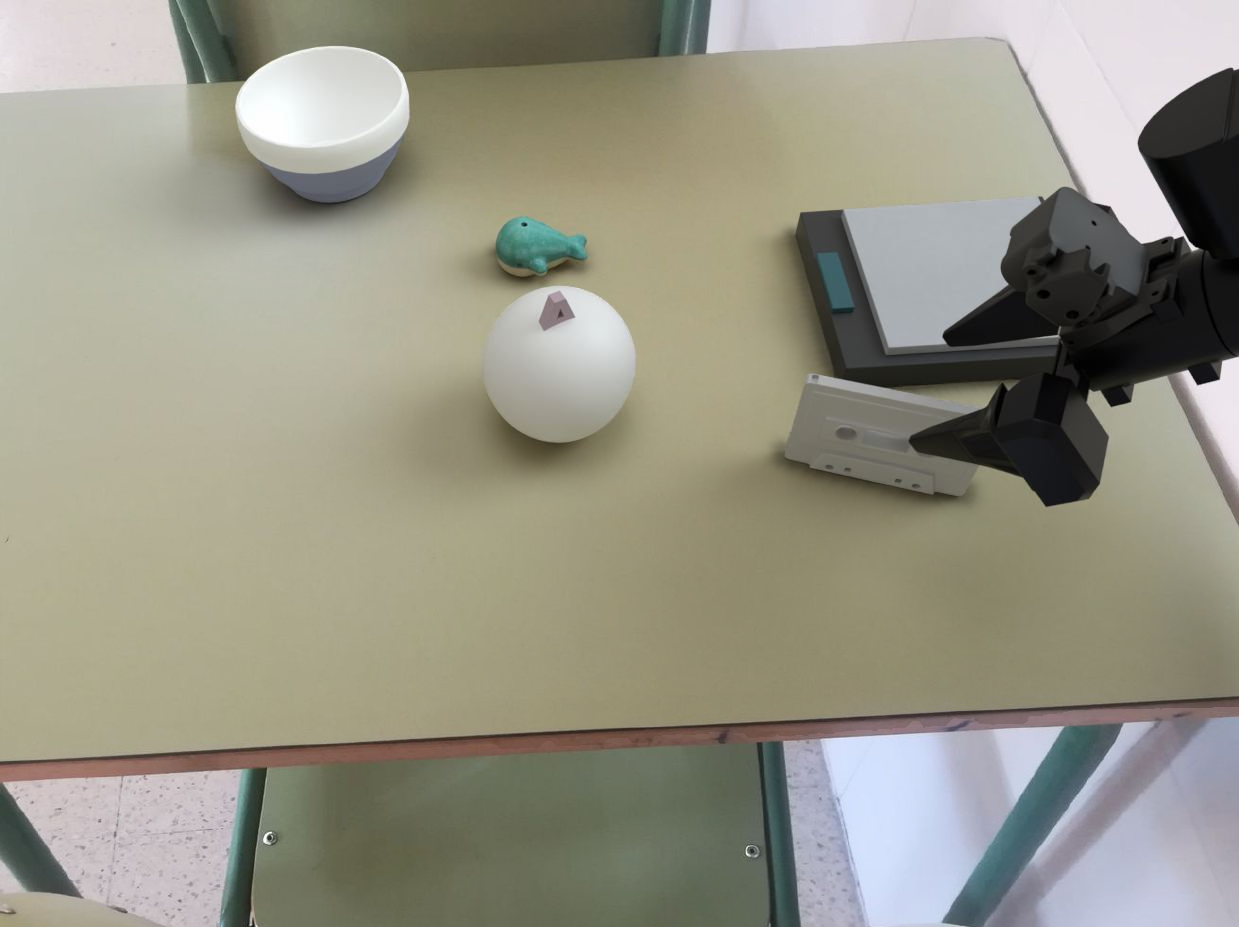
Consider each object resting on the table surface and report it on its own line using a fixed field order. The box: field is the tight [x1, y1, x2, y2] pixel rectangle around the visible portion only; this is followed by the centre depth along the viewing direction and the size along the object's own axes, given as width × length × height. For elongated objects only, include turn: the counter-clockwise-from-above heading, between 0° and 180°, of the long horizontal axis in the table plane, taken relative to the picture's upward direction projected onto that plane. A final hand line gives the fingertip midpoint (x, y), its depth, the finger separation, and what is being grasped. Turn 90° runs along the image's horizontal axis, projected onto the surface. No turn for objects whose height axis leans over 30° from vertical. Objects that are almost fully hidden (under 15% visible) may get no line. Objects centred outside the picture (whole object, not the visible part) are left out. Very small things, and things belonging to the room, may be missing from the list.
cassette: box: [783, 373, 984, 497], centre depth 68 cm, size 12×2×8 cm, turn 71°
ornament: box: [481, 285, 637, 444], centre depth 71 cm, size 10×10×12 cm
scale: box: [794, 195, 1059, 388], centre depth 79 cm, size 19×17×3 cm
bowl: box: [234, 45, 410, 204], centre depth 90 cm, size 14×14×8 cm
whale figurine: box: [495, 216, 588, 278], centre depth 84 cm, size 6×7×4 cm
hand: (929, 390), depth 64 cm, fingers open, 9 cm apart
